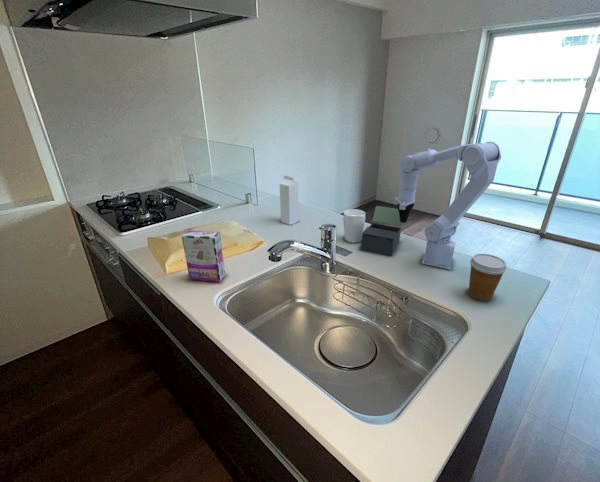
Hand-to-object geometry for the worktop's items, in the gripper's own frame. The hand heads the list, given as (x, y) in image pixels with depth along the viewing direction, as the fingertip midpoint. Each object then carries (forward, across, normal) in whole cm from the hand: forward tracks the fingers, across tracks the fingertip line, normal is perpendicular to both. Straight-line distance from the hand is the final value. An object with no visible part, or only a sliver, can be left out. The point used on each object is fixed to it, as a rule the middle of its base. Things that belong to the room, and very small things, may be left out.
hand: (403, 221), depth 125 cm
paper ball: (+8, +1, -7) cm, 11 cm away
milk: (+11, -3, -53) cm, 54 cm away
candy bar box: (+11, +54, -53) cm, 76 cm away
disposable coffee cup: (+11, +24, +29) cm, 39 cm away
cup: (+11, +3, -19) cm, 22 cm away
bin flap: (0, -5, -7) cm, 9 cm away
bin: (+10, +4, -7) cm, 13 cm away
